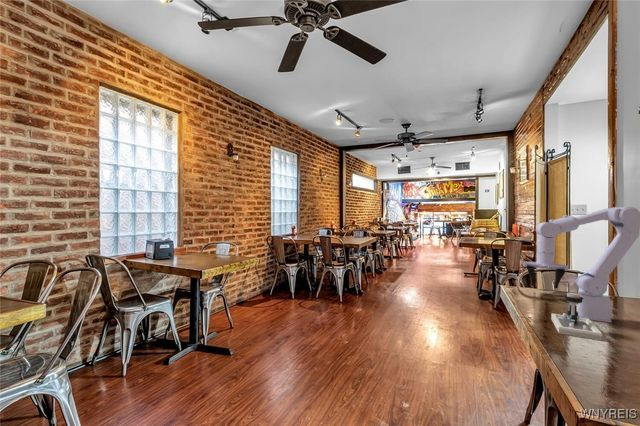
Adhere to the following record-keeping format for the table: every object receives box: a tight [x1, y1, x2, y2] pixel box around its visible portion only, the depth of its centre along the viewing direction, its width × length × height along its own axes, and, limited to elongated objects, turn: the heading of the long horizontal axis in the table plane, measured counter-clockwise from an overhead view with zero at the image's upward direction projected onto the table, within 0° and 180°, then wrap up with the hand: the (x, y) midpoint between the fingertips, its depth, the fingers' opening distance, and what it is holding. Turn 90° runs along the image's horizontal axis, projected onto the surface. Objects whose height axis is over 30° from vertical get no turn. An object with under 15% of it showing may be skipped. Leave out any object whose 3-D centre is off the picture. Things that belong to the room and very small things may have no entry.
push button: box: [563, 292, 583, 324], centre depth 113 cm, size 7×5×10 cm
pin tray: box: [550, 312, 603, 341], centre depth 112 cm, size 11×16×3 cm
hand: (544, 286), depth 129 cm, fingers open, 7 cm apart
